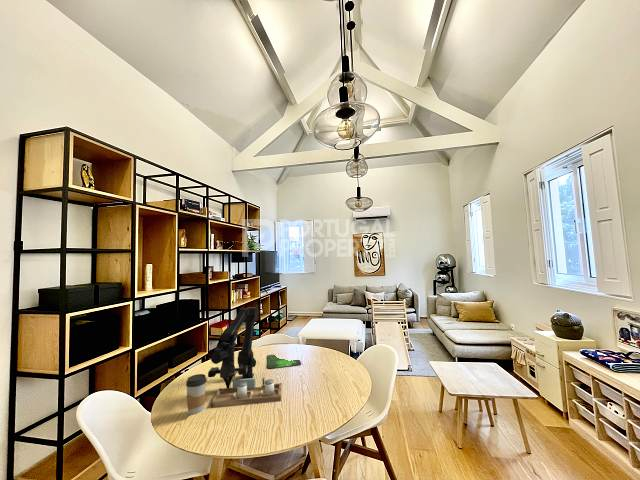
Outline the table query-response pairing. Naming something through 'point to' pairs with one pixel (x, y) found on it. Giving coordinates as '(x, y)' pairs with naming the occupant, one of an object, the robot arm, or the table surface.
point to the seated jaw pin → (242, 390)
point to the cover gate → (249, 381)
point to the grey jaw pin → (269, 387)
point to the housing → (253, 396)
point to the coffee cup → (196, 393)
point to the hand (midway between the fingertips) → (228, 388)
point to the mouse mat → (280, 362)
